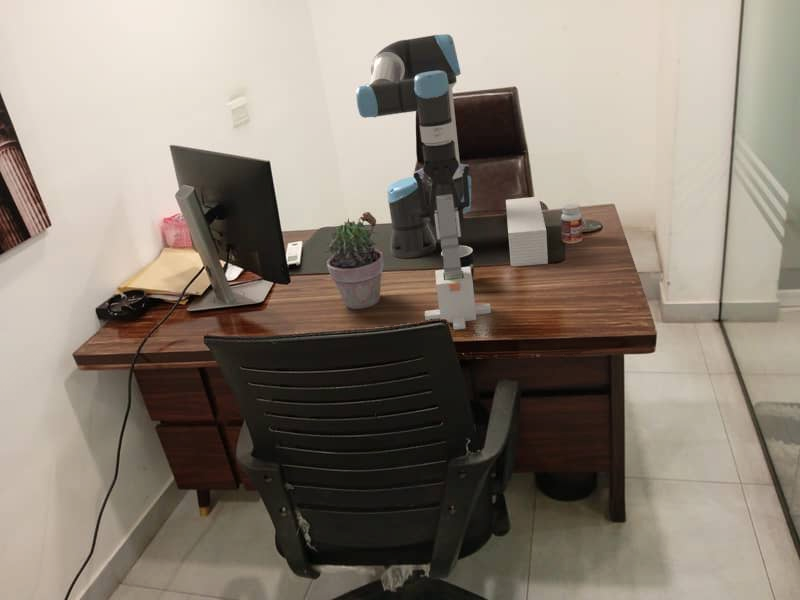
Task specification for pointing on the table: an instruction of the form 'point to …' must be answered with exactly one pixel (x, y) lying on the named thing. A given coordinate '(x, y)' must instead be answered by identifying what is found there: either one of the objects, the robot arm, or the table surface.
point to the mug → (464, 258)
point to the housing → (456, 300)
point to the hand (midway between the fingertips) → (448, 235)
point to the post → (449, 237)
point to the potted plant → (356, 263)
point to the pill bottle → (571, 223)
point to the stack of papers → (526, 232)
